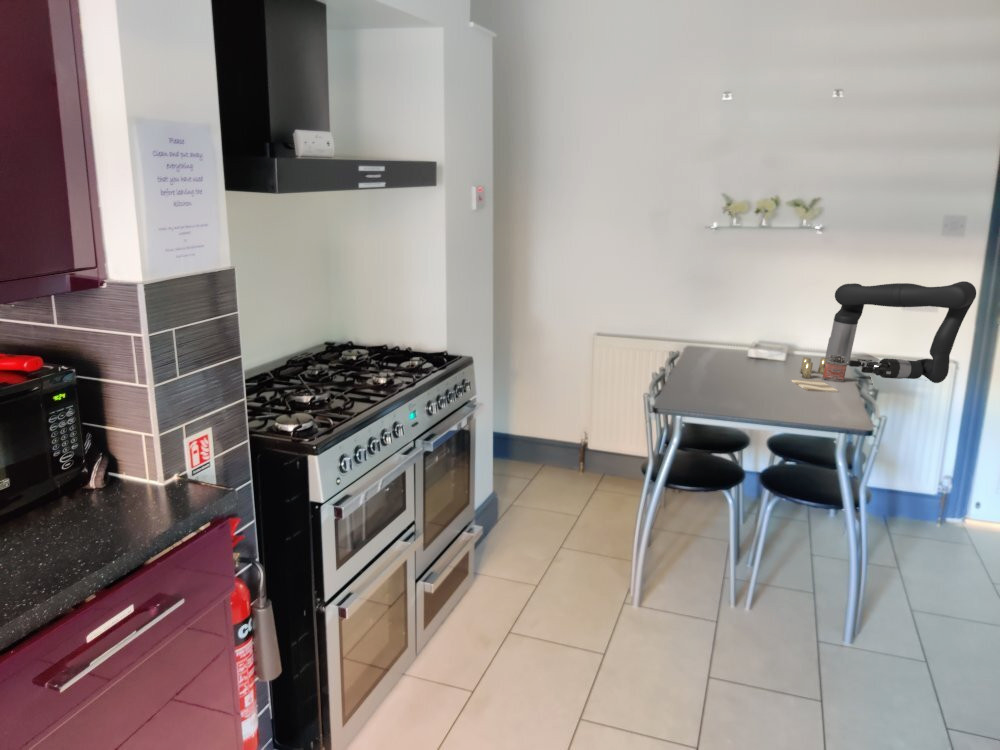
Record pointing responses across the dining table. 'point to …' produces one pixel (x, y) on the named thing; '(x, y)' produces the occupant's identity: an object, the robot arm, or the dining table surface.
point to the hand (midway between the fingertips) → (856, 366)
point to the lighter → (835, 369)
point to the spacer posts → (807, 367)
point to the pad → (814, 385)
